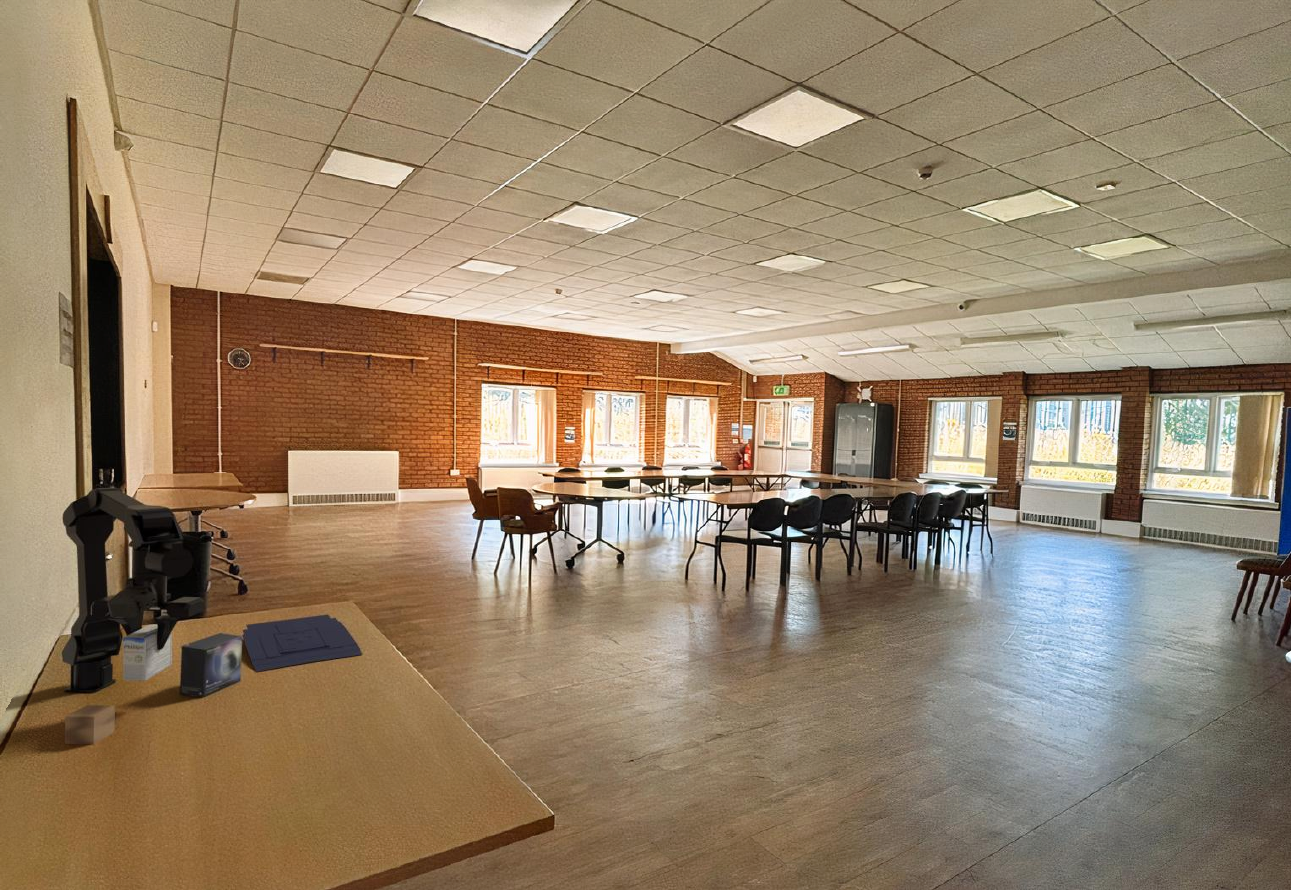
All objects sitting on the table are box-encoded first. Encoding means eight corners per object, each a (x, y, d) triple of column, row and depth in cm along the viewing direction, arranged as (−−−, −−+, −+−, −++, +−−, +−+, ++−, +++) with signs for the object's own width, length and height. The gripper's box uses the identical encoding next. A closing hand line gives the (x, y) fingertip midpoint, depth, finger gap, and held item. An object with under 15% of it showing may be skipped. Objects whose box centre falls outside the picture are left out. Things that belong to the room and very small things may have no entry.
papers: (334, 622, 199) (335, 610, 199) (363, 664, 176) (364, 650, 175) (237, 635, 185) (237, 622, 184) (254, 683, 161) (255, 668, 161)
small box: (204, 698, 145) (205, 648, 145) (177, 695, 146) (178, 645, 146) (242, 681, 155) (243, 634, 155) (218, 678, 157) (219, 632, 157)
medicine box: (150, 665, 142) (149, 624, 141) (172, 665, 142) (172, 624, 141) (122, 681, 134) (121, 637, 133) (146, 681, 134) (145, 637, 133)
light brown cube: (64, 744, 123) (65, 716, 123) (86, 732, 128) (87, 705, 128) (93, 744, 123) (94, 716, 123) (114, 732, 128) (114, 705, 128)
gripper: (68, 578, 129) (67, 661, 129) (171, 581, 130) (169, 663, 130) (113, 566, 140) (111, 643, 140) (206, 569, 141) (205, 645, 141)
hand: (148, 649), depth 138 cm, fingers closed on medicine box, 4 cm apart
